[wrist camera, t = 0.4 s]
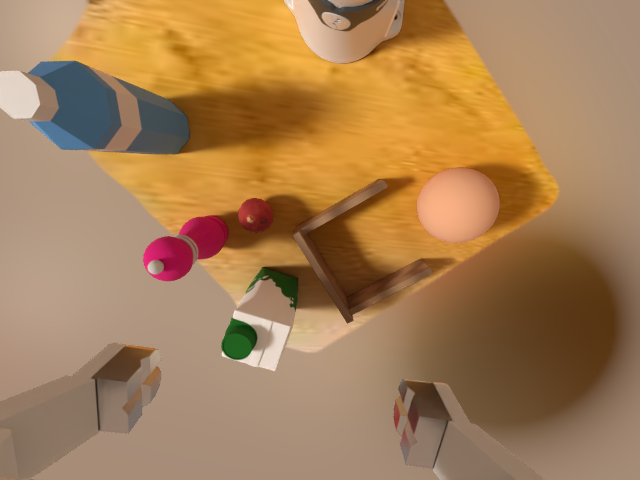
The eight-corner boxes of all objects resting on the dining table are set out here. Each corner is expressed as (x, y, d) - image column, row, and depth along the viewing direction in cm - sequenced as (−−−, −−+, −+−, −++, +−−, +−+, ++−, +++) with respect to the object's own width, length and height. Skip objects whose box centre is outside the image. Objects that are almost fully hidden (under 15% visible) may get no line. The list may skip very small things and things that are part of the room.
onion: (281, 206, 54) (275, 213, 46) (267, 233, 55) (258, 244, 47) (253, 190, 53) (241, 194, 45) (239, 217, 54) (225, 226, 46)
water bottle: (125, 112, 50) (-62, 64, 25) (172, 88, 49) (25, 14, 24) (154, 165, 52) (8, 166, 28) (200, 142, 51) (91, 124, 27)
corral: (378, 179, 52) (387, 181, 45) (423, 263, 56) (437, 277, 49) (296, 226, 54) (292, 235, 48) (344, 305, 58) (347, 323, 52)
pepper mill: (239, 234, 55) (194, 273, 36) (211, 258, 56) (153, 307, 37) (212, 204, 54) (150, 228, 34) (184, 229, 55) (108, 265, 35)
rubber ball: (421, 159, 51) (450, 157, 40) (485, 176, 52) (532, 180, 40) (399, 224, 54) (420, 240, 43) (460, 240, 55) (497, 261, 43)
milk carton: (259, 261, 56) (227, 312, 37) (304, 275, 57) (295, 333, 38) (247, 300, 58) (210, 369, 39) (291, 314, 59) (276, 387, 40)
